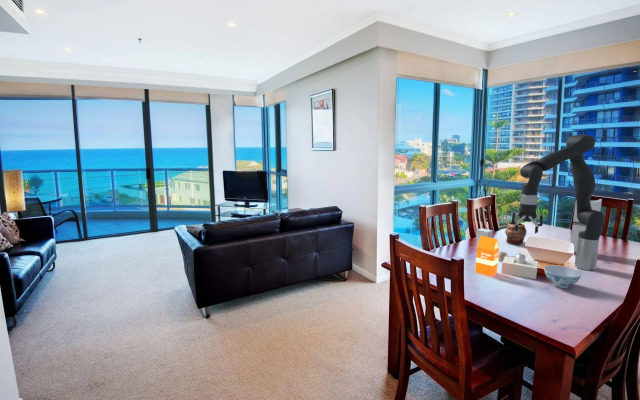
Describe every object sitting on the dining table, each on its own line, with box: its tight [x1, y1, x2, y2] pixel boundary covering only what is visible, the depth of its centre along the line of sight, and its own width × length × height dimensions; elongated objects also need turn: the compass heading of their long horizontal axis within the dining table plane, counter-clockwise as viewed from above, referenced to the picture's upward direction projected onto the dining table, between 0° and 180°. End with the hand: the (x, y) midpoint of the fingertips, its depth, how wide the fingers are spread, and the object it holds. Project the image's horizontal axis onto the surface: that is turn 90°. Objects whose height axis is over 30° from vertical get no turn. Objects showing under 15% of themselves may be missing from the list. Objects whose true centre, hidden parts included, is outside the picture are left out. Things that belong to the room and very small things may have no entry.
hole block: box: [500, 256, 539, 280], centre depth 187 cm, size 16×12×6 cm
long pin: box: [515, 253, 526, 264], centre depth 186 cm, size 4×4×10 cm
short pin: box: [498, 251, 508, 263], centre depth 205 cm, size 4×4×5 cm
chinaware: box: [543, 264, 582, 289], centre depth 170 cm, size 15×15×8 cm
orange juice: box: [474, 236, 500, 278], centre depth 186 cm, size 8×9×20 cm
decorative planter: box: [504, 222, 527, 246], centre depth 238 cm, size 20×12×14 cm, turn 132°
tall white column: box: [570, 198, 603, 256], centre depth 212 cm, size 11×11×35 cm
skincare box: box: [475, 227, 494, 252], centre depth 219 cm, size 8×6×15 cm
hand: (526, 232), depth 184 cm, fingers open, 8 cm apart
